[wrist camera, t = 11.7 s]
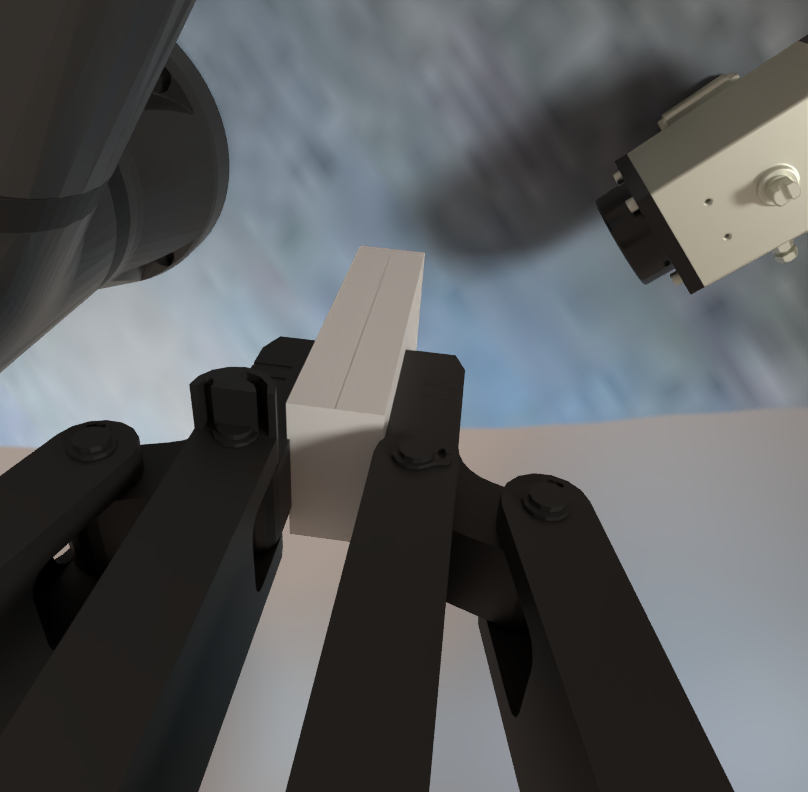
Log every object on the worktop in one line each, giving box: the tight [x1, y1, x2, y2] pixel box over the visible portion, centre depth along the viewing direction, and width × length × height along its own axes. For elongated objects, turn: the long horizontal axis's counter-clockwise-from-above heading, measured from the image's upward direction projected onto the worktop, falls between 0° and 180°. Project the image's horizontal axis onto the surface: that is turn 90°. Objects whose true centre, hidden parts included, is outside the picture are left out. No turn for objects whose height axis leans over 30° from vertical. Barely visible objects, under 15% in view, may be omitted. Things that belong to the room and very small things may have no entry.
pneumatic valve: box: [596, 35, 808, 294], centre depth 30 cm, size 6×12×12 cm, turn 128°
